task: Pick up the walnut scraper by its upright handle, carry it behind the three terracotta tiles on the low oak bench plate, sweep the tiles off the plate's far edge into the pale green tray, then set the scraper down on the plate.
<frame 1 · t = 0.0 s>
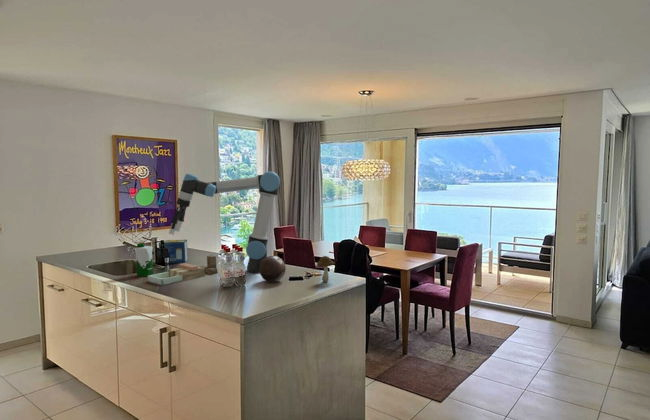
hand: (174, 232, 252), 28 cm above the table, tool tilted 20°, fingers open, 13 cm apart
wooden sphere: (272, 282, 241), on the table
tile 1: (193, 269, 254), point 5 cm above the table, touching bench plate
mushroom: (325, 282, 239), on the table
bench plate: (186, 276, 257), on the table
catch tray: (165, 281, 246), on the table
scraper: (212, 271, 271), on the table
protein box: (175, 262, 305), on the table
milk carton: (145, 275, 263), on the table
tile 2: (188, 268, 258), point 5 cm above the table, touching bench plate
tile 3: (183, 267, 261), point 5 cm above the table, touching bench plate
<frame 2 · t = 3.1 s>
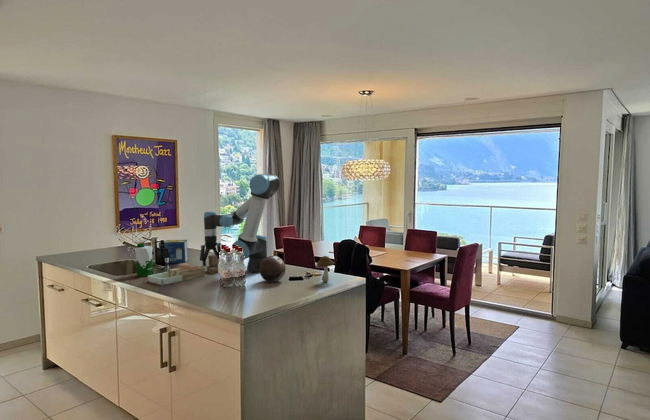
hand: (211, 269, 271), 1 cm above the table, tool pointing down, fingers open, 8 cm apart
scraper: (213, 270, 272), on the table, touching gripper
everything else where it was.
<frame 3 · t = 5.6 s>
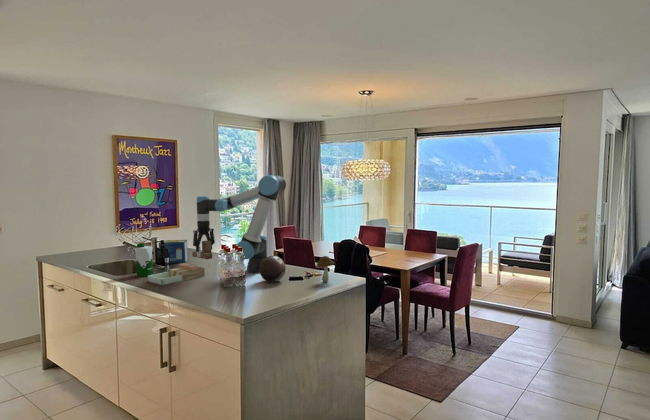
hand: (204, 255, 267), 11 cm above the table, tool pointing down, fingers closed on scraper, 7 cm apart
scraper: (207, 256, 268), point 10 cm above the table, touching gripper
everything else where it was.
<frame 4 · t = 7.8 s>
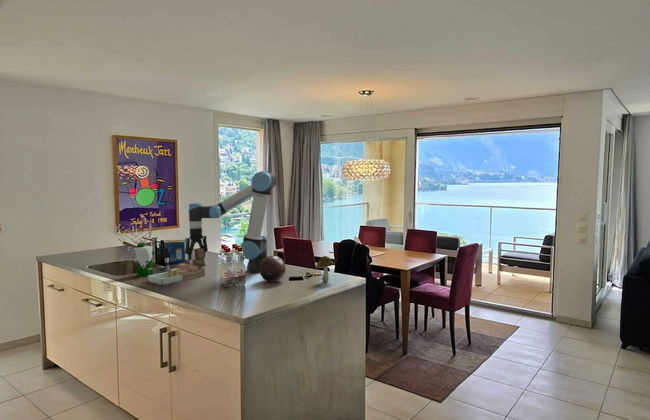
hand: (197, 263, 263), 7 cm above the table, tool pointing down, fingers closed on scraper, 7 cm apart
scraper: (199, 264, 264), point 6 cm above the table, touching gripper
tile 2: (188, 268, 258), point 5 cm above the table, touching bench plate, gripper
everything else where it was.
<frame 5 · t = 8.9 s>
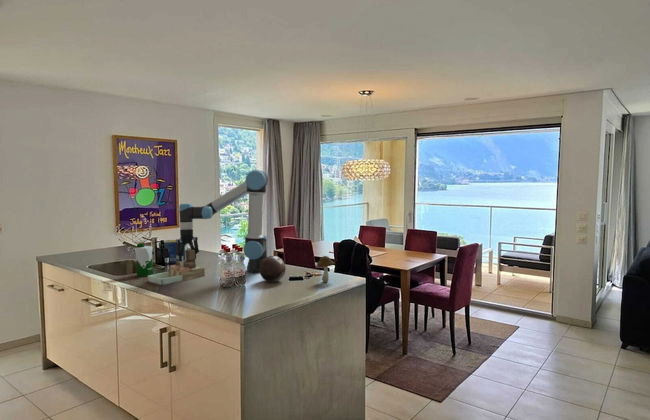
hand: (187, 265, 258), 7 cm above the table, tool pointing down, fingers closed on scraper, 7 cm apart
tile 1: (184, 271, 250), point 5 cm above the table, touching bench plate
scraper: (190, 266, 259), point 6 cm above the table, touching gripper
tile 2: (178, 270, 253), point 5 cm above the table, touching bench plate
tile 3: (175, 268, 257), point 5 cm above the table, touching bench plate
everything else where it was.
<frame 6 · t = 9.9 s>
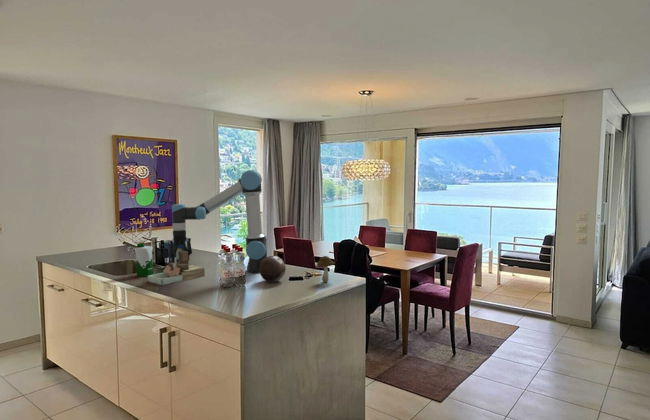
hand: (180, 266, 254), 7 cm above the table, tool pointing down, fingers closed on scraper, 7 cm apart
tile 1: (177, 272, 247), point 5 cm above the table, tilted 63°, touching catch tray, tile 2
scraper: (183, 267, 255), point 6 cm above the table, touching gripper
tile 2: (173, 273, 250), point 3 cm above the table, tilted 112°, touching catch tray, tile 1, tile 3
tile 3: (169, 270, 253), point 5 cm above the table, tilted 56°, touching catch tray, tile 2
everything else where it was.
when the fingers open (7 cm above the table, at t = 12.6 s): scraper stays where it is, resting on bench plate.
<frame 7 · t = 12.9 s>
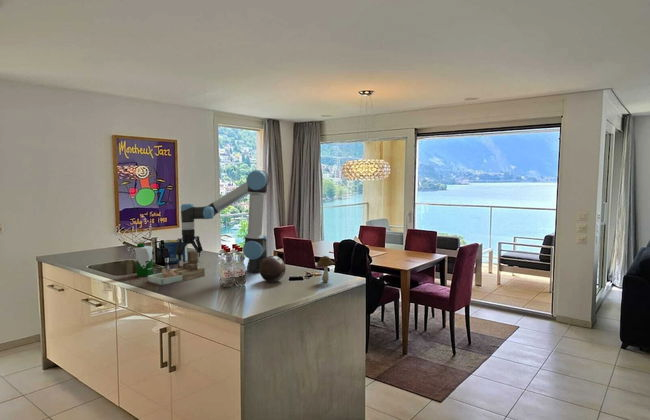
hand: (189, 264, 258), 7 cm above the table, tool pointing down, fingers open, 10 cm apart
tile 1: (172, 274, 246), point 4 cm above the table, tilted 107°, touching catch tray, tile 2
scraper: (192, 267, 260), point 5 cm above the table, touching bench plate
tile 2: (168, 276, 248), point 3 cm above the table, tilted 180°, touching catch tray, tile 1, tile 3
tile 3: (166, 272, 251), point 4 cm above the table, tilted 103°, touching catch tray, tile 2
everything else where it was.
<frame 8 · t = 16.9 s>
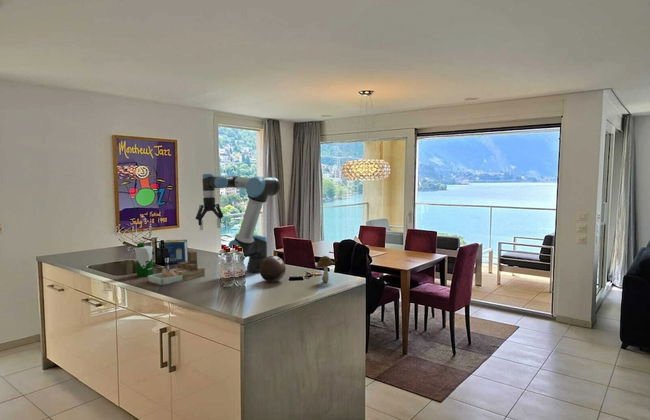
hand: (210, 229, 278), 27 cm above the table, tool pointing down, fingers open, 13 cm apart
nothing on the table moved.
at the end: tile 1 inside the target area on the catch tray (4.6 cm from its centre), point 4.2 cm above the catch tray's base; tile 2 inside the target area on the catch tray (2.1 cm from its centre), point 2.6 cm above the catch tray's base; tile 3 inside the target area on the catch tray (4.9 cm from its centre), point 4.1 cm above the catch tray's base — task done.
